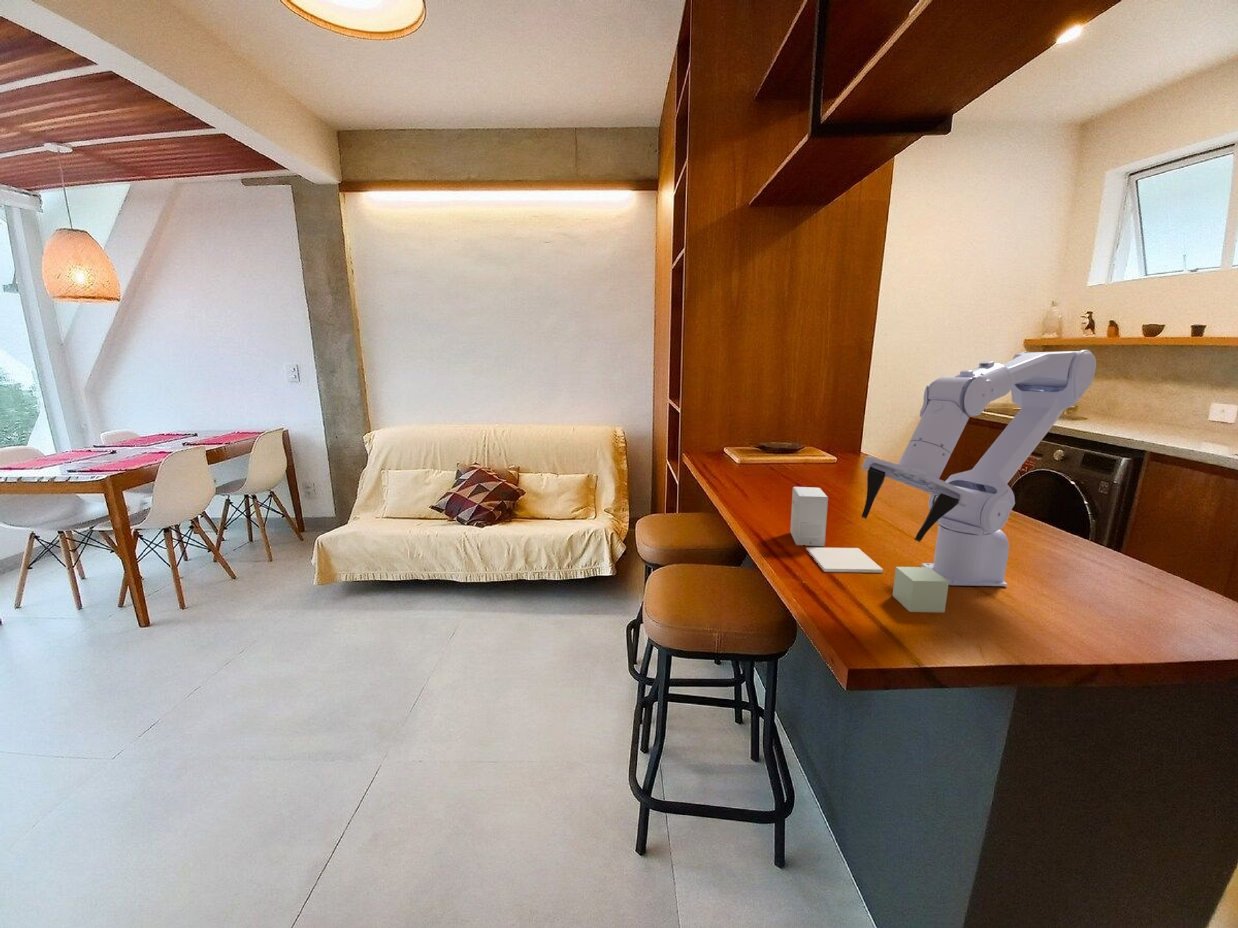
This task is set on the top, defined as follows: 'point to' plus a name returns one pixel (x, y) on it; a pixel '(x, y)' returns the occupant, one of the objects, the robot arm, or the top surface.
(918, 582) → the cube
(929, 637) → the top surface
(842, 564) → the tile
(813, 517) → the small box
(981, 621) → the top surface
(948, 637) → the top surface
